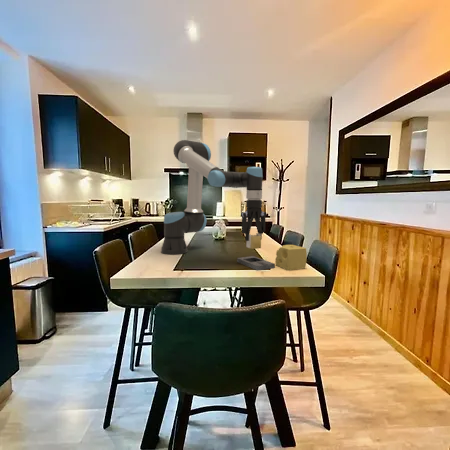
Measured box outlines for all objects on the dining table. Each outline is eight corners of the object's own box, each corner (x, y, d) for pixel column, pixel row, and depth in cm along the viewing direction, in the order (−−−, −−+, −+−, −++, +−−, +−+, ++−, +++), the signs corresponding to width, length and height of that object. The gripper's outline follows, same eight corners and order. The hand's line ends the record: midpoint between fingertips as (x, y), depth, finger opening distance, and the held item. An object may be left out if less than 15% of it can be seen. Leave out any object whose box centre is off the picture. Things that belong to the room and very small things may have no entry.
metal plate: (236, 261, 142) (237, 257, 142) (253, 259, 146) (253, 255, 146) (257, 270, 126) (257, 265, 126) (274, 267, 131) (274, 263, 130)
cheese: (275, 265, 135) (275, 245, 134) (293, 263, 140) (294, 244, 138) (287, 271, 126) (288, 249, 125) (307, 268, 130) (307, 247, 129)
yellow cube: (246, 247, 138) (246, 235, 137) (255, 246, 140) (255, 234, 140) (252, 249, 133) (252, 236, 133) (260, 248, 136) (261, 235, 135)
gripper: (242, 199, 127) (241, 249, 129) (273, 199, 135) (272, 246, 138) (234, 199, 134) (233, 247, 136) (264, 199, 142) (263, 244, 144)
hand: (253, 246), depth 137 cm, fingers closed on yellow cube, 5 cm apart
